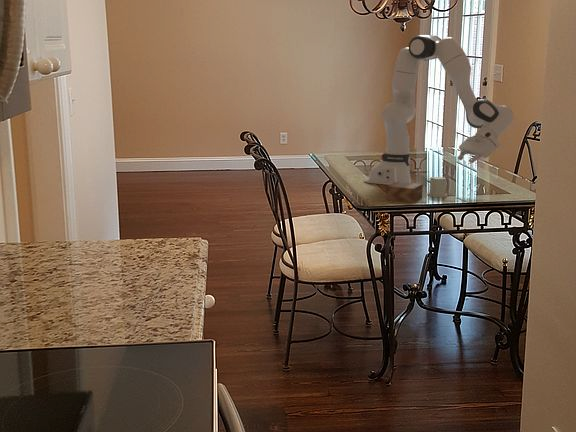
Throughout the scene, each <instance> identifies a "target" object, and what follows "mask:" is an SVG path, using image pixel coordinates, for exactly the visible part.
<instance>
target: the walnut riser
mask: <svg viewBox="0 0 576 432" xmlns="http://www.w3.org/2000/svg"><path fill="white" fill-rule="evenodd" d="M422 198H423V184H422V183H414V182H413V183H412V182H411V183H404V182H395V183H393V184H390V185H386V199H385V200H386V201H393V200H394V201H395V202H407V203H415V202H417V201H419V200H420V199H422Z"/></svg>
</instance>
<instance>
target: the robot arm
mask: <svg viewBox="0 0 576 432" xmlns="http://www.w3.org/2000/svg"><path fill="white" fill-rule="evenodd" d="M436 59H438V61H439V62H440V64H441V65H442V67H443V69H444V71H445V73H446V74H447V76H448V77H449V79H450V81H451V83H452V85H453V87H454V88H455V90H456V93H457V94H458V97H459V99H460V101H461V103H462V105H463V107H464V110H465V118H466V119H465V120H466V121H467V124H468V125H469V126H470V127H471V128H474V129H478V130H477V131H476V132H475V134H474V135H473V136H469V137H467V138H466V139H465V140H464V141H463V142H461V144H460V145H459V147H458V150H459V151H460V152H459V155H458V156H457V159H458V161H463V160H464V156H466V155H471V156H473V157H470V158H469V159H468V162H469V163H470V164H474V163H475V162H476V161H478V160H479V159H480V158H483V159H486V158H489V157H490V156H491V155H492V154H493V153H494V152H495V150H496V149H497V148H499V147H500V146H501V143H500V141H499V138H500V136H501V135H502V134H503V133H504V132H506V131H507V129H508V128H509V127H510V126H511V125H512V123H513V121H514V118H515V117H514V116H515V115H514V112H513V111H512V110H511V108H509V107H508V106H507V105H504V104H503V105H500V104H496V103H495V102H492V101H490V100H489V99H485V98H482V99H478V100H477V98H476V97H477V96H476V94H475V93H474V91H473V89H472V86H471V75H472V74H471V73H472V66H471V64H470V60H469V58H468V55H467V54H466V53H465V51H464V49H463V48H462V46H461V45H460V43H459V42H458V41H457V40H456V39H455V38H454V37H451V36H447V37H445V38H440V37H439V36H437V35H432V34H419V35H415V36H414V37H413V38H412V39H411V40H410V41H409V43H408V47H402V48H401V49H400V50H399V51H398V54H397V57H396V61H395V64H394V69H393V75H392V82H391V89H392V102H389V103H387V104H386V105H385V106H384V107H383V109H382V110H381V119H382V121H383V122H384V130H385V137H386V140H385V142H386V143H385V151H386V152H384V153H383V154H381V161H379V162H378V163H377V164H375V165H374V166H373V167H371V169H370V170H369V171H370V172H369V175H368V177H365V178H364V183H366V184H367V183H368V184H376V185H377V184H378V185H386V186H388V185H390V184H393V183H395V182H404V183H412V179H411V173H410V164H411V153H410V142H411V141H410V140H411V138H410V135H409V131H408V123H410V122H411V121H412V120H413V119H414V118H415V116H416V113H417V108H416V95H415V94H416V85H417V81H418V80H417V79H418V73H419V69H420V65H421V63H422V61H430V60H431V61H433V60H436Z"/></svg>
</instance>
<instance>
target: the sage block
mask: <svg viewBox="0 0 576 432" xmlns="http://www.w3.org/2000/svg"><path fill="white" fill-rule="evenodd" d="M429 179H430V180H429V192H427V195H426V196H429V197H432V198H434V199H438V198H448V197H449V196H448V194H447V193H446V188H447V178H445V177H442V176H430V177H429Z"/></svg>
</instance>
